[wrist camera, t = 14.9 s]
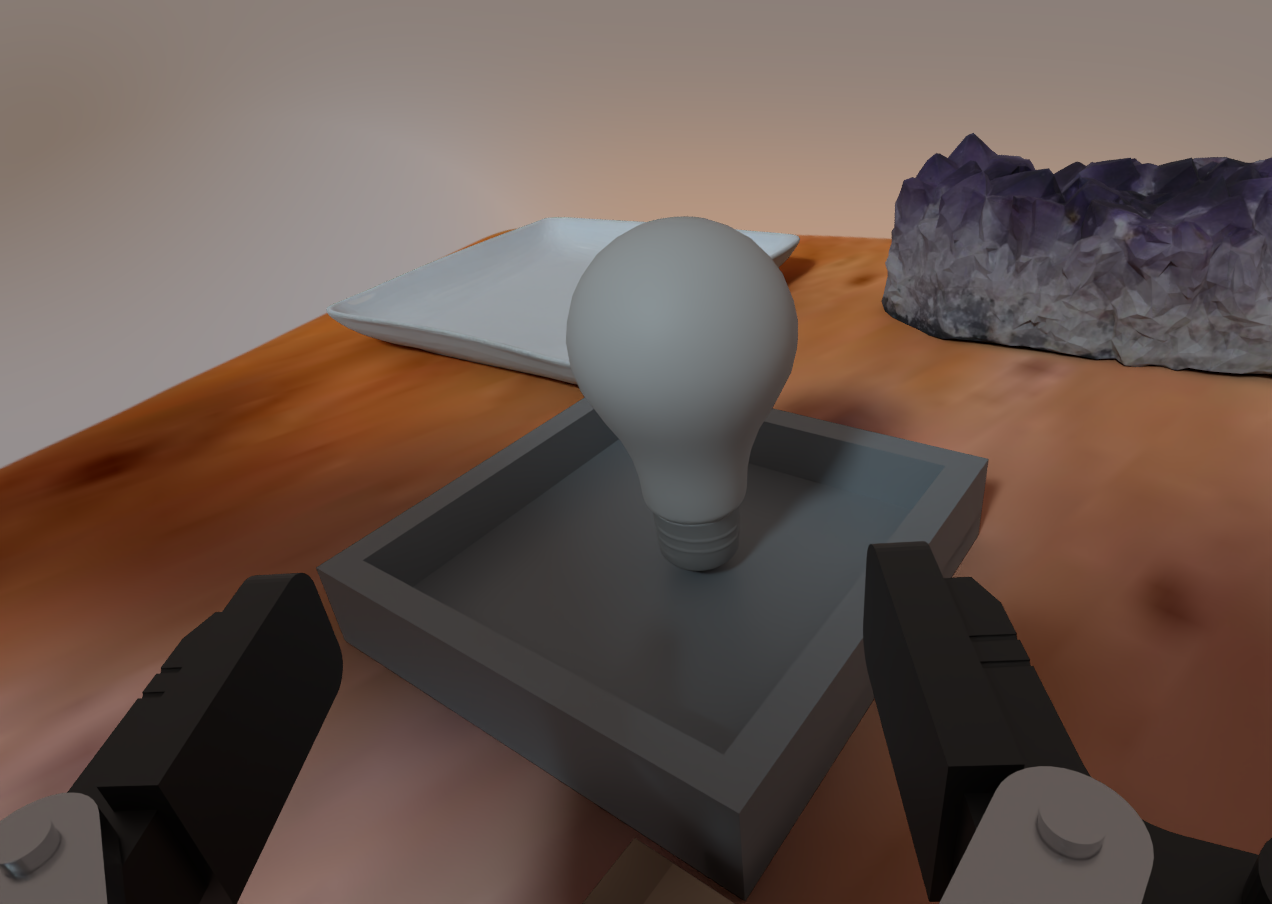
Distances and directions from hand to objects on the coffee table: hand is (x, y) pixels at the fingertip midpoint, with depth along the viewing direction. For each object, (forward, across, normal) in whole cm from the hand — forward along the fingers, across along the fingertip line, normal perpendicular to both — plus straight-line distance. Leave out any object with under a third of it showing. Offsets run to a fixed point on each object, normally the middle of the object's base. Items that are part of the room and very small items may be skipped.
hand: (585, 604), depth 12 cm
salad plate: (+38, +6, +10) cm, 40 cm away
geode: (+30, -21, +10) cm, 38 cm away
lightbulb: (+12, -1, +9) cm, 14 cm away
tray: (+12, 0, +10) cm, 15 cm away
